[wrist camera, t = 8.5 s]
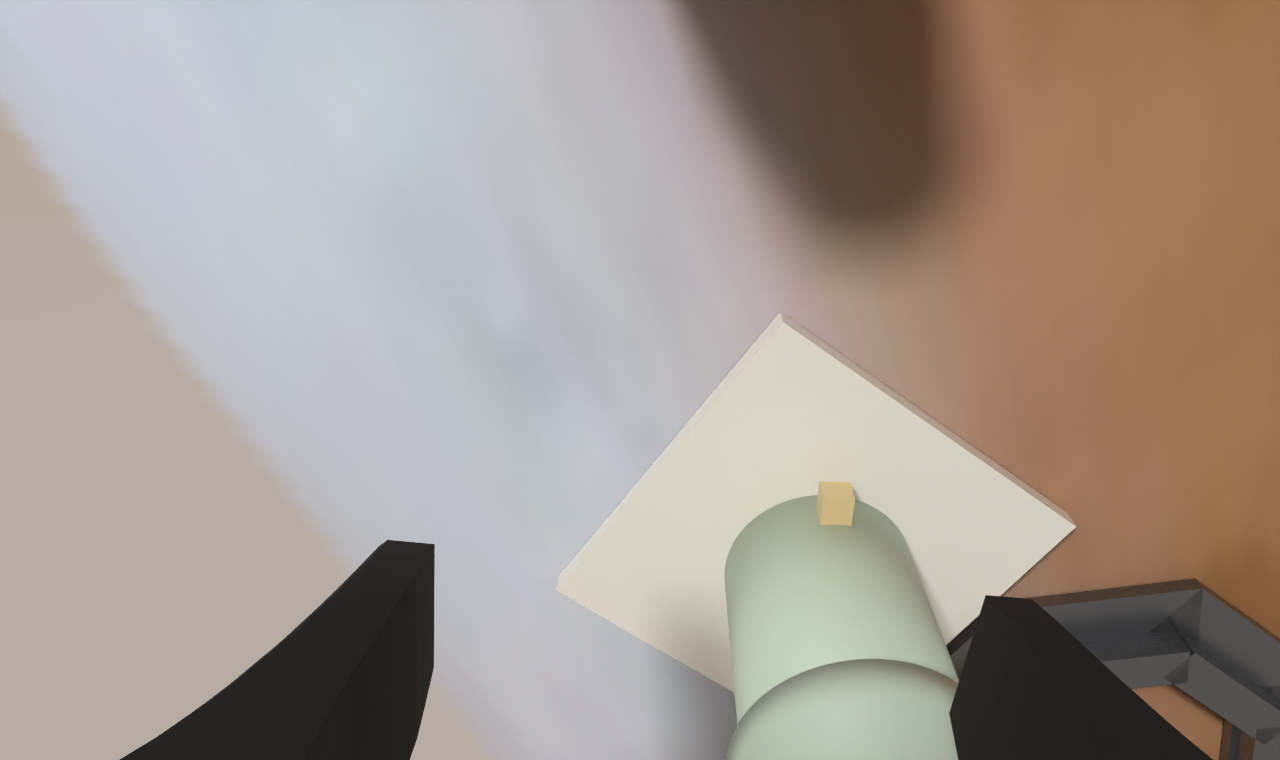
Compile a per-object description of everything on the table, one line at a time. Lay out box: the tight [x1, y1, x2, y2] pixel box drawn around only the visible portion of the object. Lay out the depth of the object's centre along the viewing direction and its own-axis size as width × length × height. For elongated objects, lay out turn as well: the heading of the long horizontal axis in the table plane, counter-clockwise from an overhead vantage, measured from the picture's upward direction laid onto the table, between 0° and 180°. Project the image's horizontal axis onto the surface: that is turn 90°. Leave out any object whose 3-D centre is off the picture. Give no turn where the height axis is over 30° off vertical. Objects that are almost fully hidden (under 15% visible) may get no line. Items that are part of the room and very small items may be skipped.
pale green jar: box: [724, 481, 959, 760], centre depth 21 cm, size 6×5×7 cm
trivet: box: [556, 312, 1076, 693], centre depth 25 cm, size 9×9×1 cm
